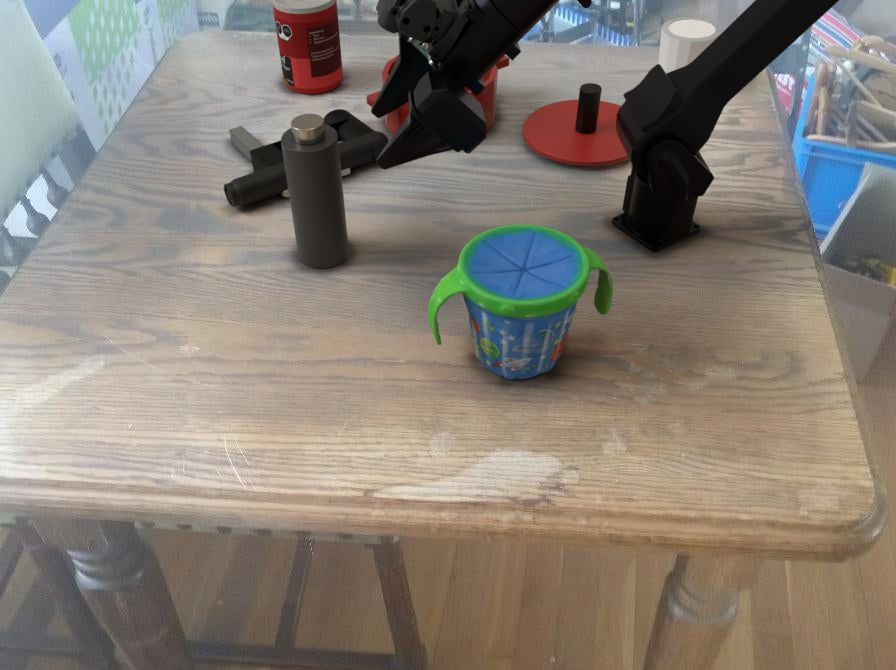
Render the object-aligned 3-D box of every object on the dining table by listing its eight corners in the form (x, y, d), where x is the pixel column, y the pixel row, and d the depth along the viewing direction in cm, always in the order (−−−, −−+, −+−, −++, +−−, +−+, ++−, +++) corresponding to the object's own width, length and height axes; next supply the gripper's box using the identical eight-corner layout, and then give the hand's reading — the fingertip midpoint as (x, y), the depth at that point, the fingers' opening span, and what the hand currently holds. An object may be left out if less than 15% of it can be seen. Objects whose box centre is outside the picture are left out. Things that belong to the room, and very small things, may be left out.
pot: (534, 116, 105) (538, 68, 101) (404, 165, 99) (402, 116, 94) (470, 76, 113) (471, 30, 109) (346, 118, 107) (342, 72, 103)
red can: (290, 68, 117) (279, -17, 109) (348, 68, 116) (341, -17, 108) (277, 94, 112) (265, 8, 104) (338, 96, 111) (330, 8, 103)
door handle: (181, 138, 101) (234, 193, 90) (332, 90, 107) (398, 137, 97) (188, 164, 103) (240, 221, 93) (335, 115, 109) (400, 164, 99)
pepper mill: (358, 256, 87) (346, 124, 77) (313, 275, 86) (294, 142, 75) (333, 232, 91) (318, 101, 80) (289, 249, 89) (268, 118, 78)
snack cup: (436, 405, 73) (436, 312, 65) (421, 323, 80) (419, 232, 72) (619, 386, 73) (639, 292, 66) (588, 306, 80) (602, 214, 73)
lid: (674, 144, 99) (685, 93, 95) (576, 185, 94) (583, 133, 90) (591, 96, 108) (597, 47, 103) (497, 131, 103) (500, 82, 99)
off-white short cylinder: (665, 67, 112) (675, 12, 107) (716, 79, 109) (730, 23, 104) (642, 88, 108) (652, 32, 103) (695, 102, 105) (708, 45, 100)
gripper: (423, -101, 73) (308, 38, 81) (446, -16, 61) (307, 138, 69) (509, -11, 79) (394, 110, 87) (548, 83, 66) (408, 215, 74)
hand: (376, 139), depth 79 cm, fingers open, 9 cm apart
